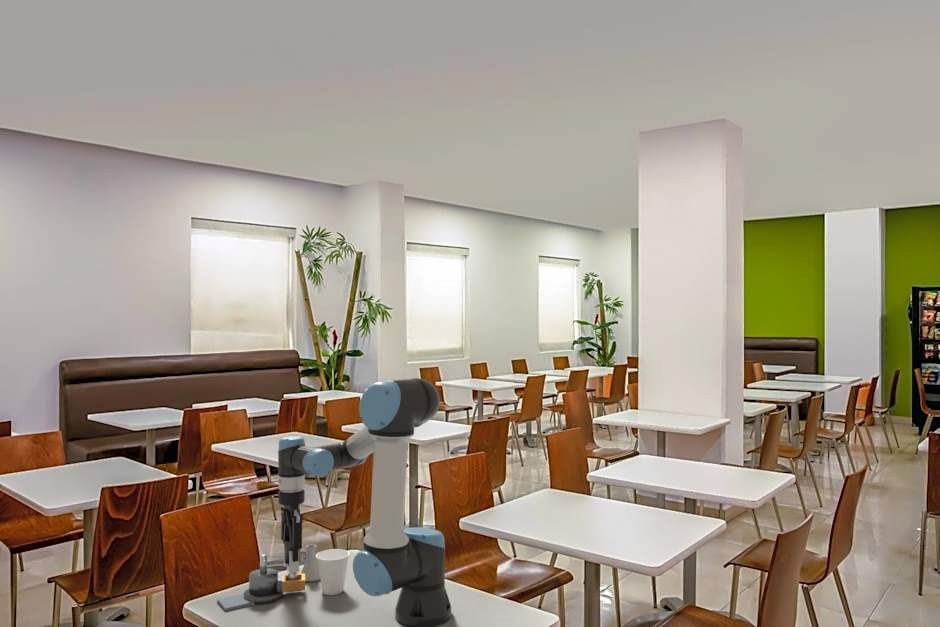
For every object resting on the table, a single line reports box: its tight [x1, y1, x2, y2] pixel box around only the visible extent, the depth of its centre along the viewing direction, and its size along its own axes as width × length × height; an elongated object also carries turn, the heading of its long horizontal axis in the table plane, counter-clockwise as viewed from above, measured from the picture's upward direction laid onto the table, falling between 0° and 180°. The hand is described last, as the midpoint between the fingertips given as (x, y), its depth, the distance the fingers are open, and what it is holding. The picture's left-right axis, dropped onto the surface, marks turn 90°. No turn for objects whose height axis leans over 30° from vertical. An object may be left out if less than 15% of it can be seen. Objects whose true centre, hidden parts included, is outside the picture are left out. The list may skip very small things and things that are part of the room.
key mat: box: [216, 592, 255, 612], centre depth 199 cm, size 8×8×1 cm
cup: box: [316, 548, 351, 596], centre depth 208 cm, size 10×10×11 cm
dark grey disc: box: [243, 588, 284, 605], centre depth 204 cm, size 11×11×2 cm
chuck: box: [248, 553, 306, 596], centre depth 205 cm, size 16×8×10 cm, turn 104°
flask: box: [300, 544, 321, 583], centre depth 219 cm, size 7×7×10 cm
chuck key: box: [283, 540, 301, 581], centre depth 207 cm, size 4×4×14 cm
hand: (291, 568), depth 207 cm, fingers closed on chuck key, 5 cm apart
